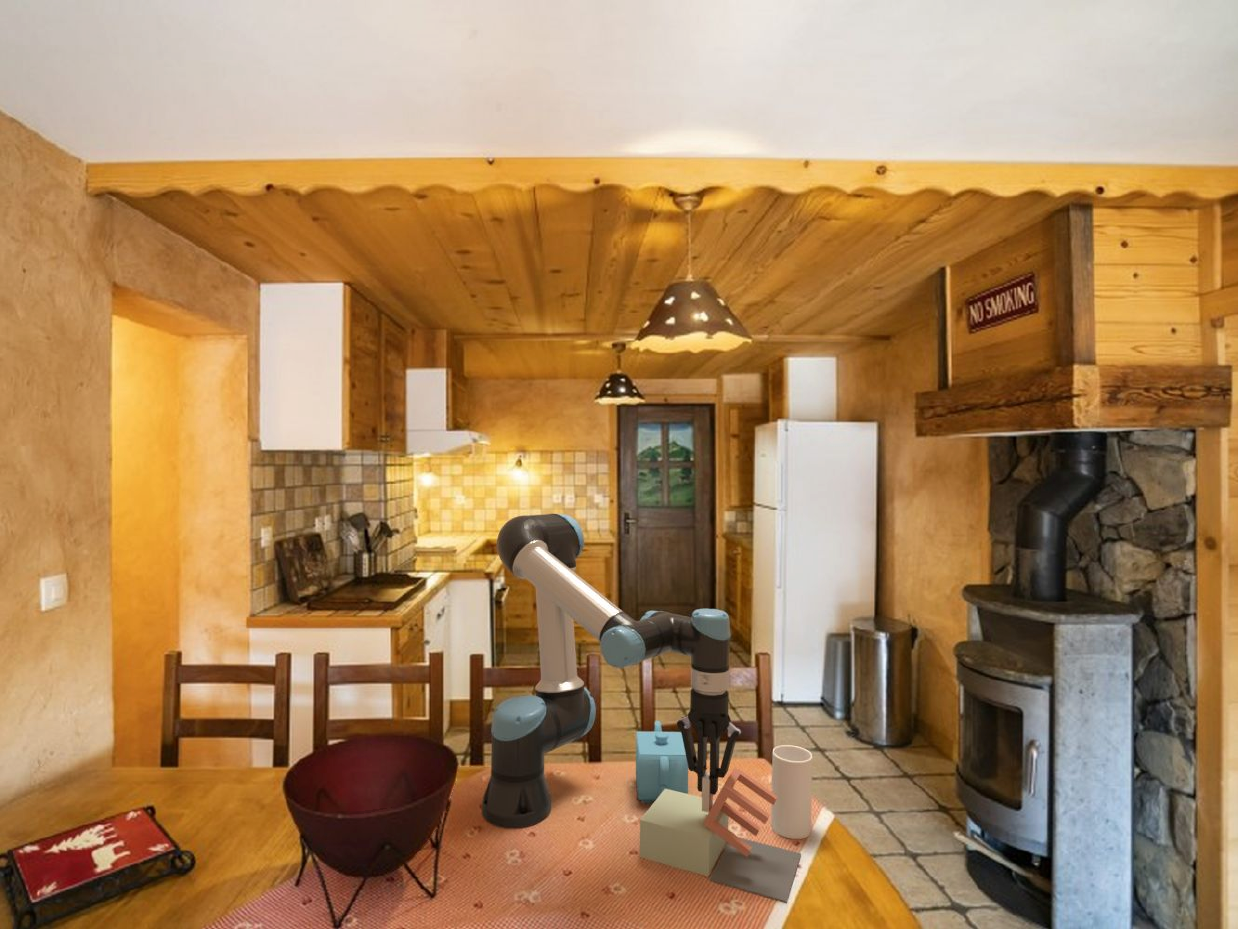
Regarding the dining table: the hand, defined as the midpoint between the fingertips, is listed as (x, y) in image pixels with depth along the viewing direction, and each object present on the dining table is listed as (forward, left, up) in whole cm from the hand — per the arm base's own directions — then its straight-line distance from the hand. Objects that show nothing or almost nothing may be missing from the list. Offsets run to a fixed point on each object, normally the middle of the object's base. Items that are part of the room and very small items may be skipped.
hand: (707, 808), depth 129 cm
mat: (+10, 0, -9) cm, 13 cm away
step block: (-5, 0, -9) cm, 10 cm away
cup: (+13, +17, -9) cm, 24 cm away
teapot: (-18, +20, -9) cm, 28 cm away
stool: (+5, 0, -3) cm, 6 cm away
